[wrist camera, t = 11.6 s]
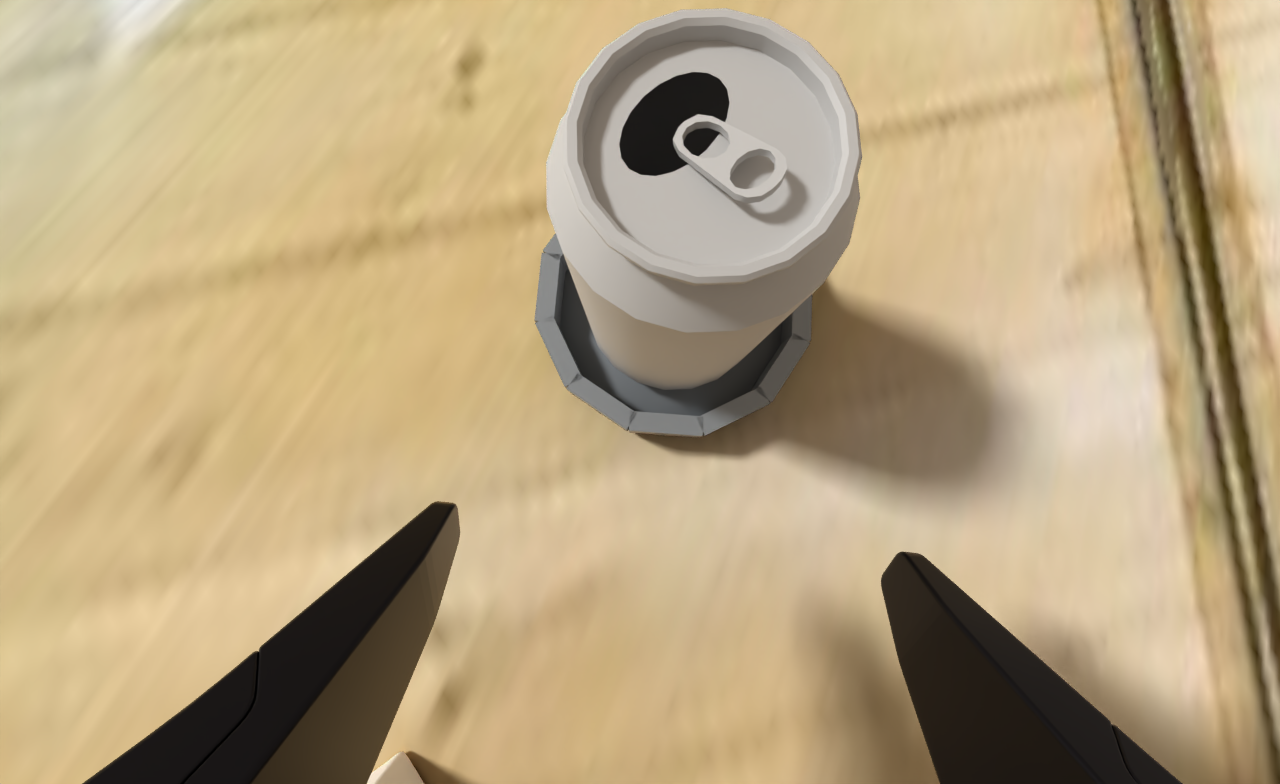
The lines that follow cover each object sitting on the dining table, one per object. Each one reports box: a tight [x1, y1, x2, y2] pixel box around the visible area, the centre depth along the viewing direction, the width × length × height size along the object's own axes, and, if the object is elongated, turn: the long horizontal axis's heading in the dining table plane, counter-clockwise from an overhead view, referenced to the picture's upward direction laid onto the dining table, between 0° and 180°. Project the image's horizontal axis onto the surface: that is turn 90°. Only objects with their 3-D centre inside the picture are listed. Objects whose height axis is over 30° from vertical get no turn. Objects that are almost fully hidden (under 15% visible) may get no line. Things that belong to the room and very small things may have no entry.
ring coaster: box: [535, 234, 812, 437], centre depth 21 cm, size 12×12×2 cm
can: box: [546, 8, 862, 390], centre depth 15 cm, size 8×8×12 cm
